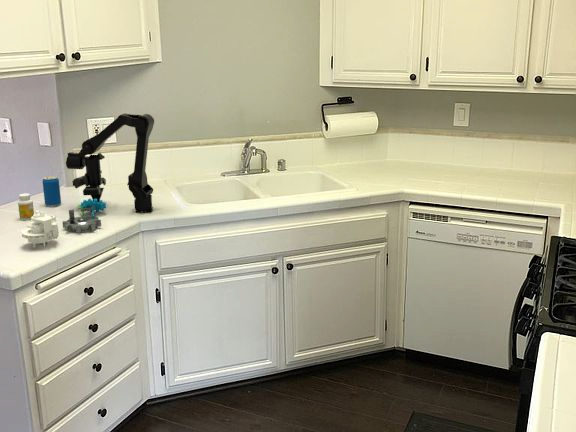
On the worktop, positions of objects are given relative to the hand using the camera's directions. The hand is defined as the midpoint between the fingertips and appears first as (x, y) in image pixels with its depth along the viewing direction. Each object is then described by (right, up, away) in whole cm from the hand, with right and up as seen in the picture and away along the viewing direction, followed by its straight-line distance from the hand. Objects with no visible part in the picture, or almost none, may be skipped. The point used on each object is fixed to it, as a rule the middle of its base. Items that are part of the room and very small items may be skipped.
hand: (96, 206), depth 269 cm
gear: (+1, -4, -7) cm, 8 cm away
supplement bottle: (-24, -5, -13) cm, 27 cm away
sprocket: (+2, -9, -25) cm, 27 cm away
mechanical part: (-7, -14, -42) cm, 45 cm away
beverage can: (-20, 0, +5) cm, 20 cm away
